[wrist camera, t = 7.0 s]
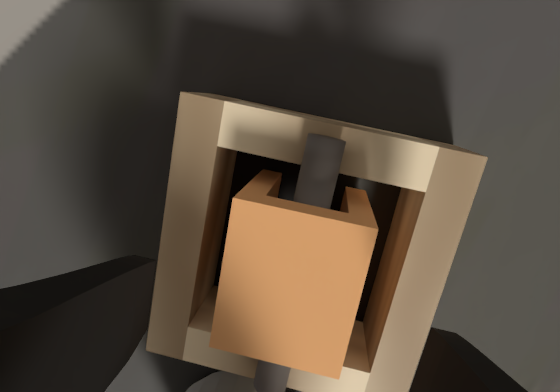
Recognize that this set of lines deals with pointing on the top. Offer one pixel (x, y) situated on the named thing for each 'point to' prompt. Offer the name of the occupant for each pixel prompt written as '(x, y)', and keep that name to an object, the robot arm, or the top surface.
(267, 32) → the top surface
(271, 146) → the shelf block
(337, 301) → the orange u-channel
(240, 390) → the coffee cup
